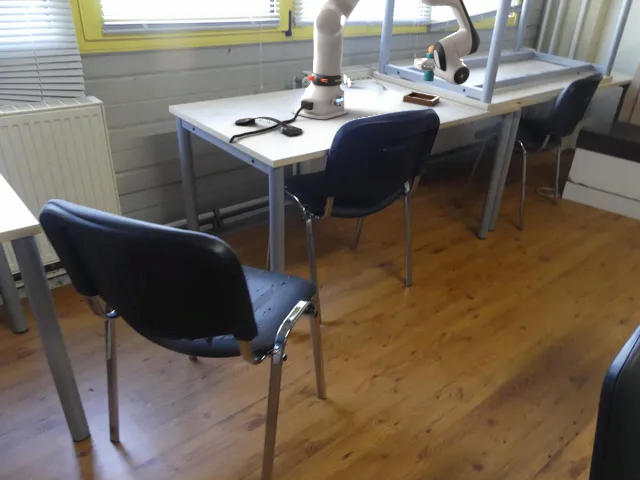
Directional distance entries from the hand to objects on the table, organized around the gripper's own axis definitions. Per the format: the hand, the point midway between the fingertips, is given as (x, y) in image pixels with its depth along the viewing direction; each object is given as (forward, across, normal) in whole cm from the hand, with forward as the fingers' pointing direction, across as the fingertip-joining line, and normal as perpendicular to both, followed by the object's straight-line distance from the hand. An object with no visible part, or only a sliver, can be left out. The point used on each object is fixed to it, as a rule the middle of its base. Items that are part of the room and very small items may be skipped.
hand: (430, 60), depth 236 cm
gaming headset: (-35, -77, -18) cm, 86 cm away
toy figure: (-1, 0, -8) cm, 8 cm away
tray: (+2, -1, -18) cm, 18 cm away
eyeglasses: (+31, -18, -18) cm, 40 cm away
